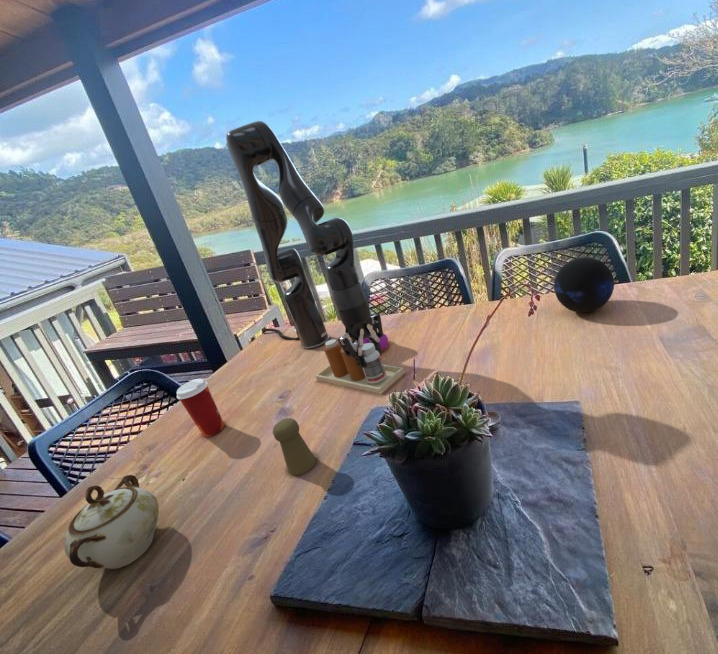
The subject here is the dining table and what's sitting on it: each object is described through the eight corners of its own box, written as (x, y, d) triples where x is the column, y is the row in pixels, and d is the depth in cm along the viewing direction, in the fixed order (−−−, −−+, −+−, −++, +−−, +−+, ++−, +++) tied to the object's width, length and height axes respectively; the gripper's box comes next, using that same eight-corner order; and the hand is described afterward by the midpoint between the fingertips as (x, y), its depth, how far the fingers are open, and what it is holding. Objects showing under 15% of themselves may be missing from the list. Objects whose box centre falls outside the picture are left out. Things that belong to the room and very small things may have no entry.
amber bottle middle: (347, 379, 119) (335, 347, 115) (358, 370, 123) (347, 339, 119) (359, 382, 116) (347, 349, 112) (370, 372, 120) (360, 340, 116)
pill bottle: (390, 376, 114) (380, 344, 110) (373, 386, 111) (362, 353, 108) (380, 370, 118) (370, 339, 114) (363, 380, 116) (352, 348, 112)
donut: (356, 361, 129) (351, 348, 127) (359, 346, 139) (355, 334, 137) (390, 353, 128) (385, 340, 127) (390, 339, 138) (386, 326, 136)
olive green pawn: (286, 462, 94) (267, 421, 89) (313, 450, 95) (295, 410, 91) (289, 479, 88) (269, 437, 84) (317, 466, 90) (299, 424, 85)
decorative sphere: (575, 296, 131) (570, 248, 125) (626, 302, 119) (623, 249, 113) (546, 317, 123) (539, 267, 117) (597, 326, 111) (592, 271, 106)
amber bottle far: (330, 376, 124) (318, 345, 120) (342, 367, 127) (331, 337, 123) (341, 378, 121) (330, 346, 117) (353, 369, 124) (342, 338, 120)
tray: (317, 381, 124) (314, 375, 124) (341, 363, 131) (339, 357, 130) (381, 395, 108) (379, 389, 107) (405, 374, 115) (403, 367, 114)
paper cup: (234, 419, 117) (211, 376, 111) (216, 439, 110) (191, 393, 105) (211, 421, 119) (188, 378, 114) (192, 440, 113) (167, 395, 107)
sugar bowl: (120, 517, 91) (82, 463, 85) (188, 499, 91) (154, 443, 85) (60, 609, 73) (5, 548, 67) (144, 586, 73) (97, 523, 67)
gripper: (359, 289, 113) (378, 346, 120) (320, 314, 104) (342, 373, 110) (380, 290, 108) (398, 348, 115) (341, 315, 99) (362, 377, 106)
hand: (370, 360), depth 113 cm, fingers closed on pill bottle, 5 cm apart
